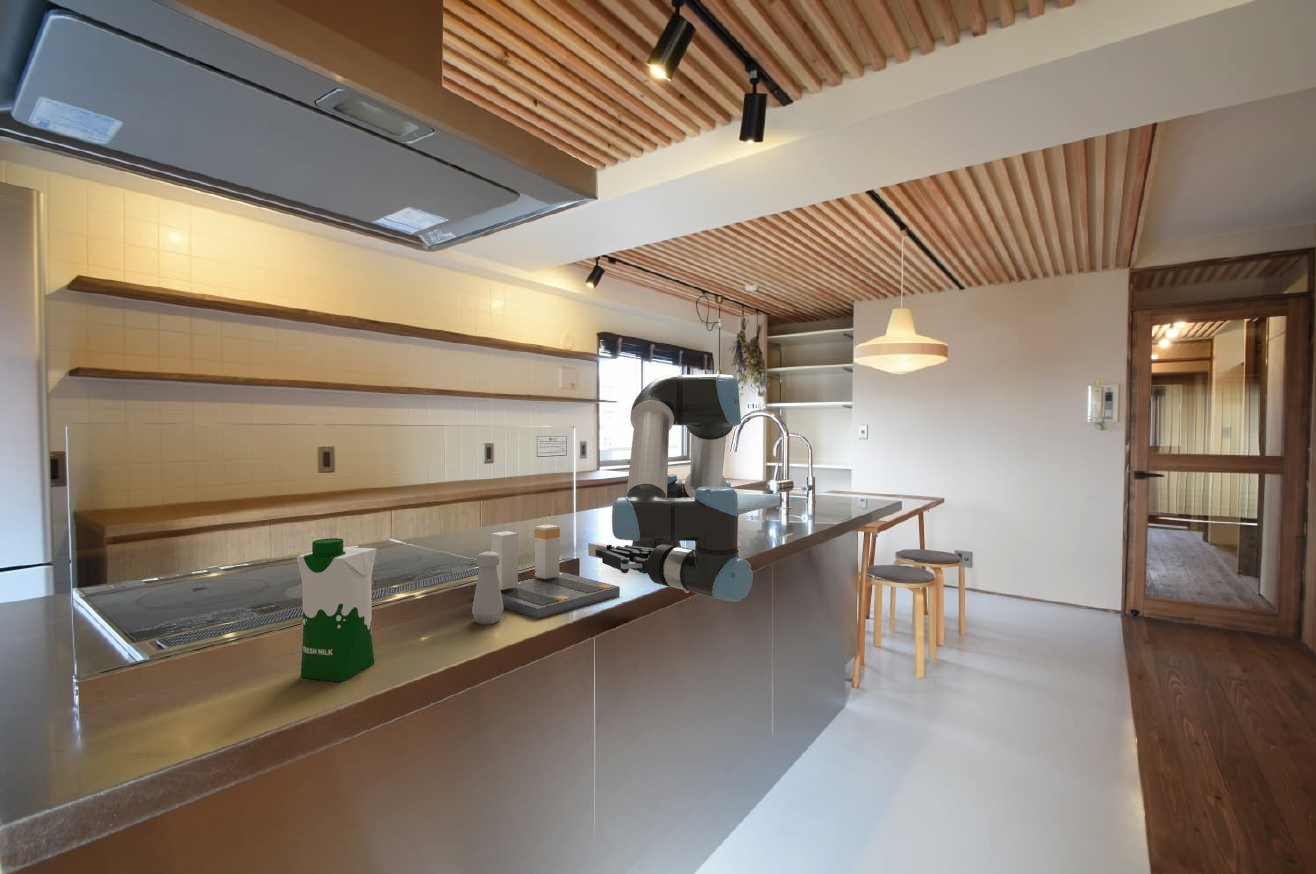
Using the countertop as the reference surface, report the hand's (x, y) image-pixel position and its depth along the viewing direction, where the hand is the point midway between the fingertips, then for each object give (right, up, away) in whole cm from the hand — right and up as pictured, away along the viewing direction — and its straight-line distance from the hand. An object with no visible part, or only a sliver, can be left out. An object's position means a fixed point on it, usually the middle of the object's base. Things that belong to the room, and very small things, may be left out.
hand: (590, 548), depth 128 cm
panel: (-10, -11, +2) cm, 15 cm away
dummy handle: (-19, -8, +1) cm, 21 cm away
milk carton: (-34, -12, -38) cm, 52 cm away
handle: (-11, -8, +11) cm, 18 cm away
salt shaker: (-18, -11, -14) cm, 26 cm away
